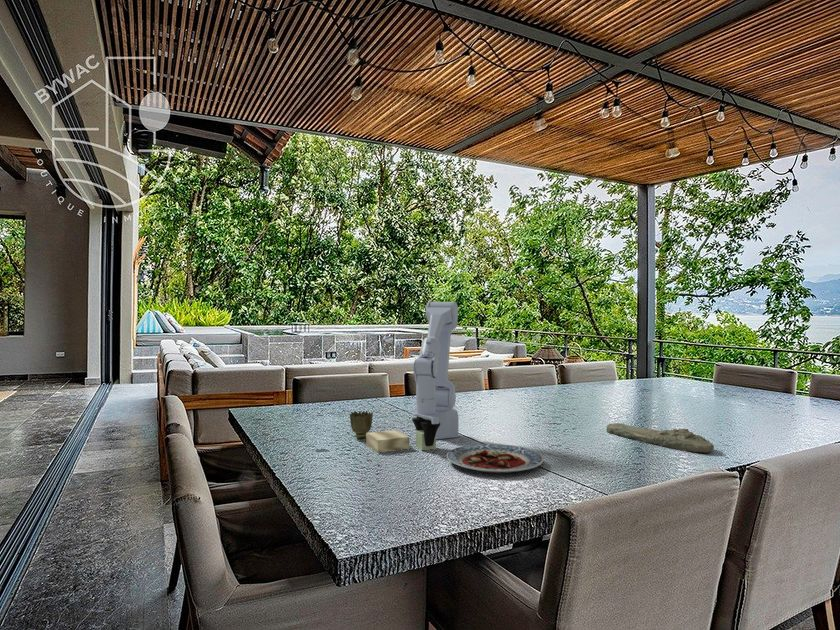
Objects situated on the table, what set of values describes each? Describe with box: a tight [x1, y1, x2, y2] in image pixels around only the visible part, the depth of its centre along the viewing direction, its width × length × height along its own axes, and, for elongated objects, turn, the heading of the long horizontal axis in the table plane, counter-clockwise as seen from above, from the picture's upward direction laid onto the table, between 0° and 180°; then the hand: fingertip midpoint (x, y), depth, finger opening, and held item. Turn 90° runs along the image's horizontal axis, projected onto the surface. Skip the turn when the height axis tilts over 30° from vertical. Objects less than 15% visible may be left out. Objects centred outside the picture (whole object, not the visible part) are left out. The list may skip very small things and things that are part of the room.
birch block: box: [365, 429, 410, 454], centre depth 159 cm, size 10×10×4 cm
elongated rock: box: [606, 422, 715, 454], centre depth 166 cm, size 35×5×10 cm
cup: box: [349, 410, 374, 440], centre depth 170 cm, size 8×7×8 cm
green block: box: [415, 430, 437, 451], centre depth 157 cm, size 4×4×5 cm
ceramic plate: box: [446, 443, 545, 474], centre depth 142 cm, size 26×26×3 cm
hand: (425, 443), depth 157 cm, fingers closed on green block, 4 cm apart
